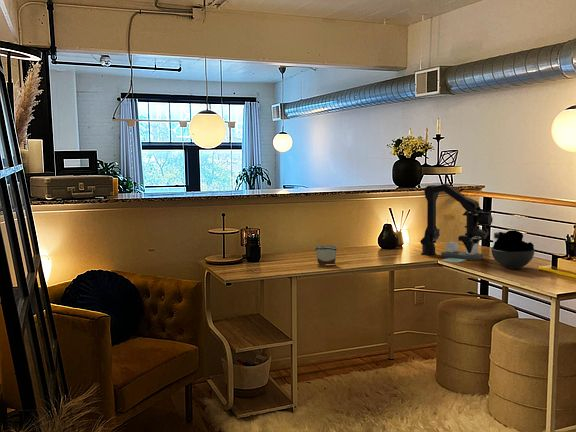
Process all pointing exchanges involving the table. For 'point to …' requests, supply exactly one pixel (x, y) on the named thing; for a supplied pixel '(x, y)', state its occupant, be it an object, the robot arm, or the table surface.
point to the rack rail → (462, 256)
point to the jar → (496, 237)
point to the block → (452, 247)
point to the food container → (326, 254)
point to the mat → (453, 260)
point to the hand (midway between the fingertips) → (471, 252)
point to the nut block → (473, 249)
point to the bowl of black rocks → (512, 250)
